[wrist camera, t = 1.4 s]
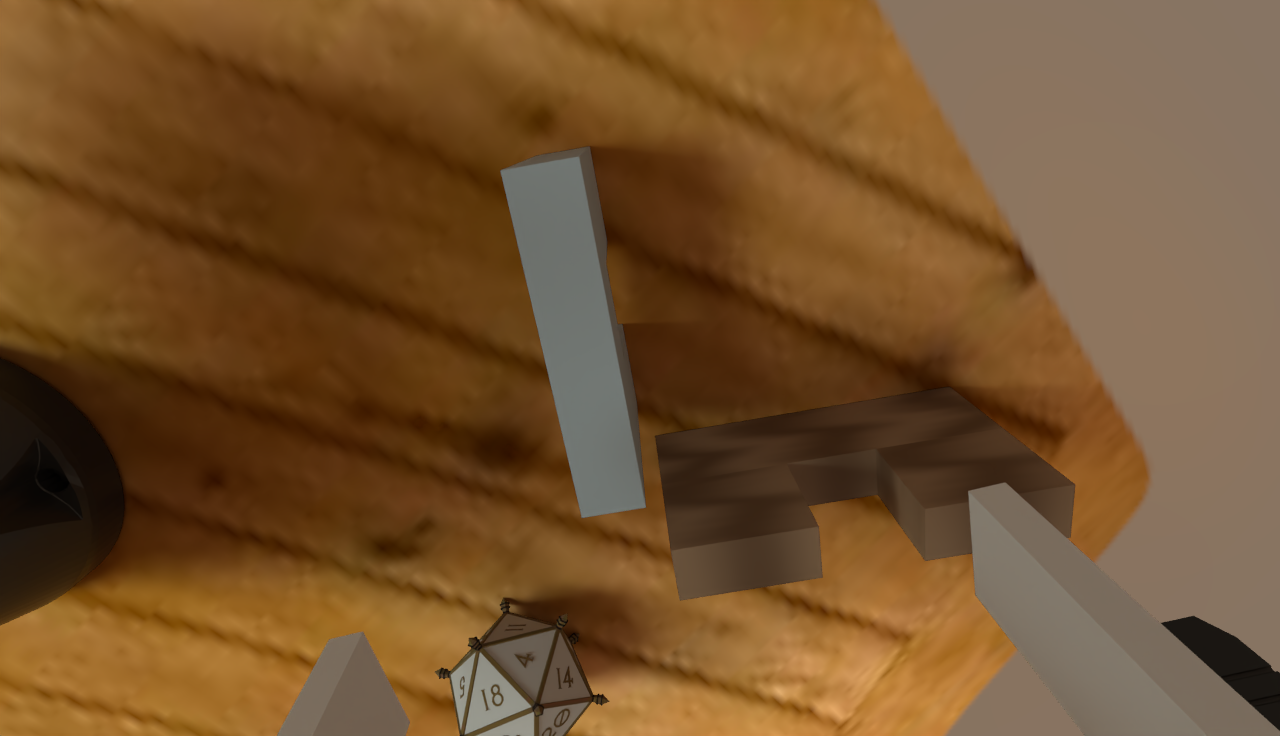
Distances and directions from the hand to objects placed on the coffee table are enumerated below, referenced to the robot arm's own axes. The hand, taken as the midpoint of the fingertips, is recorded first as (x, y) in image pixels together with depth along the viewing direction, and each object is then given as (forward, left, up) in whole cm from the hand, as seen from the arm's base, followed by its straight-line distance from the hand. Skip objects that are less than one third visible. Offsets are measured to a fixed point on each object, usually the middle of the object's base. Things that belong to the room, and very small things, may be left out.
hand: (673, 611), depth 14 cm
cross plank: (-3, 0, -20) cm, 20 cm away
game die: (+6, -20, -20) cm, 29 cm away
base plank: (+11, 0, -20) cm, 23 cm away
